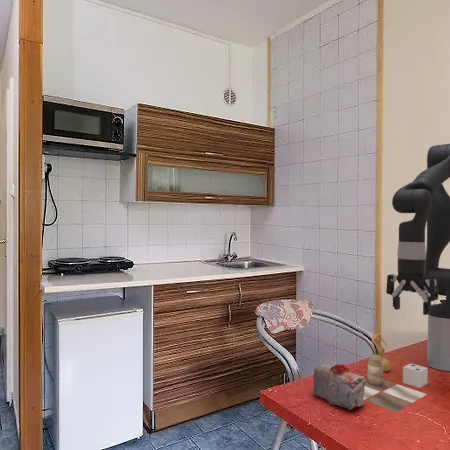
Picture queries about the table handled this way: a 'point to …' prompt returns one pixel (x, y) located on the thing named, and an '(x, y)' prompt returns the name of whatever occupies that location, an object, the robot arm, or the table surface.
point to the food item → (339, 386)
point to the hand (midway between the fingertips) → (411, 311)
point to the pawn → (375, 370)
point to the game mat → (388, 400)
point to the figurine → (377, 340)
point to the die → (415, 375)
